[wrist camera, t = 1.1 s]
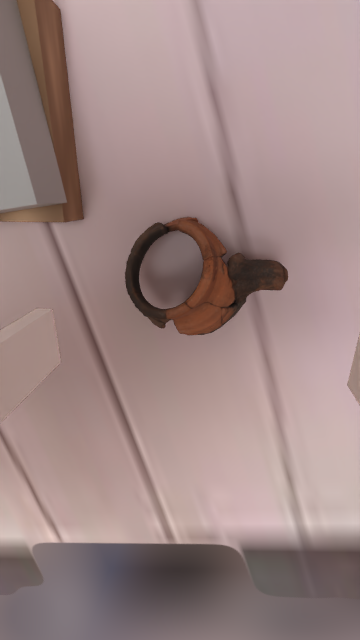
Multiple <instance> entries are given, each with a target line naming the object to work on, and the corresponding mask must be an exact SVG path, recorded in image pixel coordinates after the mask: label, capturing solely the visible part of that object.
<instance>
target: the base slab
mask: <svg viewBox="0 0 360 640" xmlns="http://www.w3.org/2000/svg"><path fill="white" fill-rule="evenodd" d="M17 4H18V8H19V12H20V16H21V20H22V24H23V28H24V32H25V36H26V40H27V44H28V48H29V52H30V56H31V60H32V64H33V68H34V72H35V76H36V80H37V84H38V88H39V92H40V96H41V100H42V104H43V108H44V112H45V116H46V120H47V124H48V128H49V132H50V136H51V140H52V144H53V148H54V152H55V156H56V160H57V164H58V168H59V172H60V176H61V180H62V184H63V188H64V192H65V196H66V200H67V203H62V204H56V205H49V206H43V207H37V208H30V209H24V210H18V211H12V212H5V213H0V221H9V222H68V221H74V220H79V219H84V218H83V209H82V200H81V191H80V182H79V173H78V165H77V156H76V147H75V138H74V129H73V120H72V111H71V102H70V93H69V84H68V75H67V66H66V57H65V48H64V39H63V30H62V21H61V12H60V9H59V8H58V6H57V5H56V4H55V3H54V2H53V1H52V0H17Z"/></svg>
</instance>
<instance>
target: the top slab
mask: <svg viewBox="0 0 360 640" xmlns="http://www.w3.org/2000/svg"><path fill="white" fill-rule="evenodd" d="M62 203H67V200H66V196H65V192H64V188H63V184H62V180H61V176H60V172H59V168H58V164H57V160H56V156H55V152H54V148H53V144H52V140H51V136H50V132H49V128H48V124H47V120H46V116H45V112H44V108H43V104H42V100H41V96H40V92H39V88H38V84H37V80H36V76H35V72H34V68H33V64H32V60H31V56H30V52H29V48H28V44H27V40H26V36H25V32H24V28H23V24H22V20H21V16H20V12H19V8H18V4H17V0H0V213H5V212H12V211H18V210H24V209H30V208H37V207H43V206H49V205H56V204H62Z"/></svg>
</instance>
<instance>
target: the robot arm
mask: <svg viewBox="0 0 360 640" xmlns="http://www.w3.org/2000/svg"><path fill="white" fill-rule="evenodd" d="M60 363H61V357H60V351H59V345H58V339H57V333H56V327H55V321H54V315H53V309H44V308H36V309H35V310H33V311H31V312H30V313H28V314H26V315H25V316H23V317H21V318H20V319H18V320H16V321H15V322H13V323H11V324H10V325H8V326H6V327H5V328H3V329H1V330H0V423H1V422H2V421H3V420H4V419H5V418H6V417H7V416H8V415H9V414H10V413H11V412H12V411H13V410H14V409H15V408H16V407H17V406H18V405H19V404H20V403H21V402H22V401H23V400H24V399H25V398H26V397H27V396H28V395H29V394H30V393H31V392H32V391H33V390H34V389H35V388H36V387H37V386H38V385H39V384H40V383H41V382H42V381H43V380H44V379H45V378H46V377H47V376H48V375H49V374H50V373H51V372H52V371H53V370H54V369H55V368H56V367H57V366H58V365H59V364H60ZM347 385H348V387H349V389H350V390H351V392H352V394H353V395H354V397H355V398H356V400H357V402H358V403H359V405H360V334H359V338H358V343H357V347H356V351H355V355H354V359H353V363H352V367H351V372H350V376H349V380H348V384H347Z"/></svg>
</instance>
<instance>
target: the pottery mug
mask: <svg viewBox="0 0 360 640" xmlns="http://www.w3.org/2000/svg"><path fill="white" fill-rule="evenodd" d="M175 230H179V231H180V232H183V233H185V234H188V235H189V236H191V237H192V238H193V239H194V240H195V241H196V243H197V244H198V246H199V248H200V250H201V254H202V257H203V260H204V262H203V271H202V276H201V279H200V282H199V284H198V286H197V288H196V290H195V291H194V293H193V294H192V295H191V296H190V298H188V299H187V300H186V301H185V302H184V303H182V304H180V305H179V306H177V307H174V308H169V309H159V308H156V307H154V306H152V305H151V304H150V303H149V302H148V301H147V300H146V299H145V298H144V296H143V294H142V292H141V289H140V284H139V271H140V266H141V263H142V260H143V258H144V256H145V254H146V252H147V250H148V249H149V247H150V246H151V245H152V244H153V243H154V242H155V241H156V240H157V239H158V238H160V237H161V236H163V235H165V234H167V233H168V232H170V231H175ZM226 253H227V251H226V249H225V247H224V246H223V245H222V243H221V242H220V241H219V240H218V239H217V237H216V236H215V235H214V234H213V233H212V232H211V231H210V230H208V229H207V228H206V227H205V226H203V225H202V224H200V223H198V220H197V218H191V217H186V218H180V219H177V220H174V221H172V222H170V223H167V224H165V225H163V224H162V223H159V222H158V223H155V224H154V225H152V226H151V227H149V228H148V229H147V230H146V231H145V232H144V233H143V234H142V235H141V236H140V237H139V238H138V239H137V241H136V242H135V244H134V246H133V248H132V250H131V254H130V255H129V257H128V261H127V265H126V272H125V279H126V288H127V291H128V294H129V295H130V298H131V300H132V301H133V303H134V304H135V306H136V308H138V309H139V311H140V312H141V313H143V315H144V316H147V317H148V318H149V319H150V320H151V321H152V323H153V324H155V325H156V326H158V327H159V328H165V324H166V322H168V321H169V320H171V319H172V320H173V321H174V324H175V326H176V328H177V330H178V332H179V333H181V334H186V335H204V334H208V333H212V332H214V331H215V330H217V329H219V328H220V327H221V326H222V325H224V324H225V323H226V322H227V321H229V320H230V319H231V318H232V317H234V316H235V314H236V313H237V312H238V311H239V310H240V308H241V307H242V305H243V304H244V303H245V302H246V297H247V296H248V295H249V294H251V293H252V292H255V291H259V290H281V289H282V288H283V286H284V284H285V282H286V281H287V280H288V272H287V269H286V268H285V267H284V266H283V265H282V264H281V263H279V262H277V261H272V260H247V259H245V257H244V256H243V255H242V254H240V253H237V254H235V255H233V256H231V257H230V258H229V261H228V263H227V266H226V265H225V263H224V262H223V261H222V259H221V257H222V256H223V255H225V254H226ZM235 299H236V300H235ZM234 300H235V302H234ZM233 302H234V303H233Z"/></svg>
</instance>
